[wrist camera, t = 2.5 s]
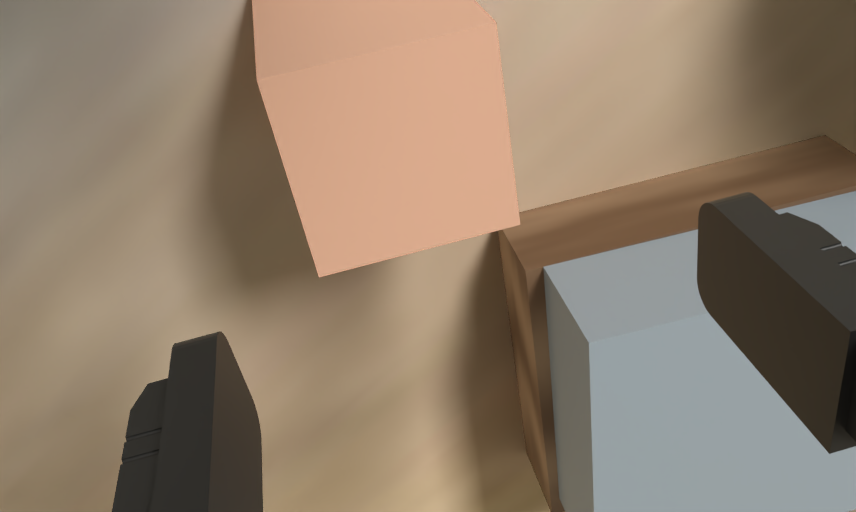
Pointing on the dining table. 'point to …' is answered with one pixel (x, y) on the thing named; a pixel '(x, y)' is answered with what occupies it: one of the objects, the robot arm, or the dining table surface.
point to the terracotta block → (387, 123)
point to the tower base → (628, 225)
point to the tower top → (676, 391)
